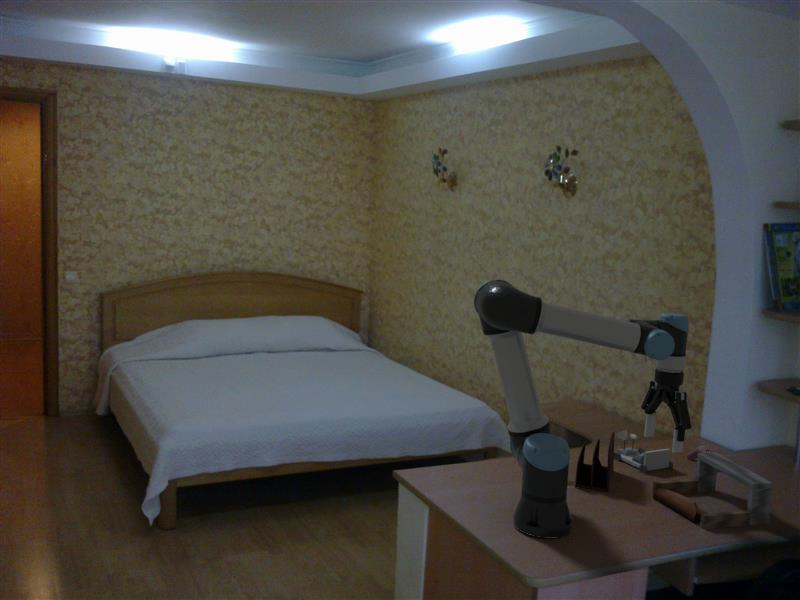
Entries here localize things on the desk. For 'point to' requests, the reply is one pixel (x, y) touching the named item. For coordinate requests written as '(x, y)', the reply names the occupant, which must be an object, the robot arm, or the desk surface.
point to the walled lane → (707, 482)
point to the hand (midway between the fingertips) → (662, 444)
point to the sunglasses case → (680, 504)
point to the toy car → (643, 456)
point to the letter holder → (595, 469)
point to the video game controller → (700, 449)
